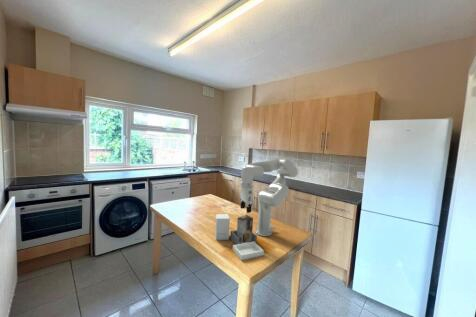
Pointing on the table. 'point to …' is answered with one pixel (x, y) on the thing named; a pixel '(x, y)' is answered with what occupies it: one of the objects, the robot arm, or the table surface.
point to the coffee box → (244, 229)
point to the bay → (236, 240)
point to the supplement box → (222, 227)
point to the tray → (248, 250)
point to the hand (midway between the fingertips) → (245, 210)
